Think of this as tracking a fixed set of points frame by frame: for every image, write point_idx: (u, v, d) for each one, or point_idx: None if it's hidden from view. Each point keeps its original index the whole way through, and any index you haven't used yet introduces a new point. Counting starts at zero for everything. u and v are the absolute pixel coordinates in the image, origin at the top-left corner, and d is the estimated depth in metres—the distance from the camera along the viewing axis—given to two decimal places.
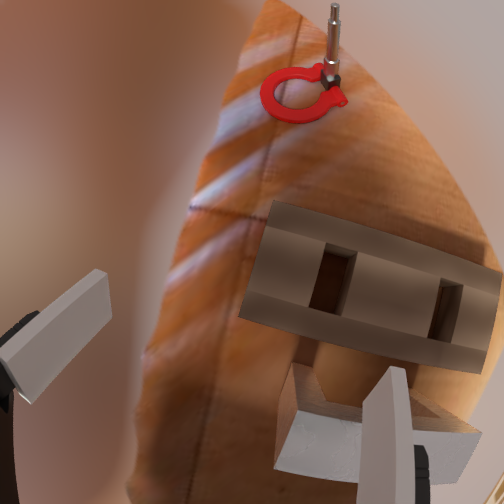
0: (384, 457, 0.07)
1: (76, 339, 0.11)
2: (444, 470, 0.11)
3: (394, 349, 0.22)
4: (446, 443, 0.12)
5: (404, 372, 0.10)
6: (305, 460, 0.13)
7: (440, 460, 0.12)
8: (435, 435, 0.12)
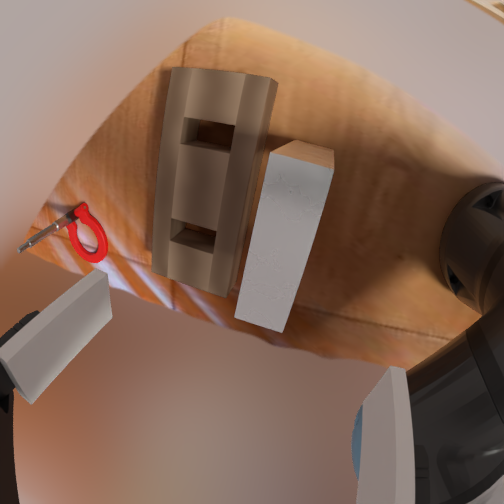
0: (384, 457, 0.07)
1: (76, 339, 0.11)
2: (308, 193, 0.18)
3: (239, 185, 0.28)
4: (271, 200, 0.19)
5: (404, 372, 0.10)
6: (273, 314, 0.22)
7: (291, 202, 0.18)
8: (260, 215, 0.19)
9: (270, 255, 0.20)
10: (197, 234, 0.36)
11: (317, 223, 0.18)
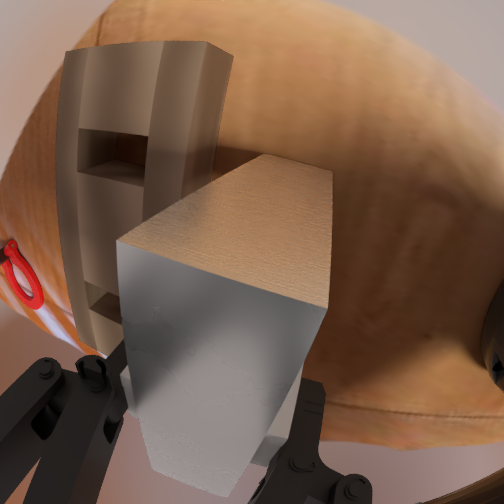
0: None
1: None
2: (241, 362, 0.06)
3: None
4: (151, 359, 0.07)
5: None
6: (208, 484, 0.10)
7: (198, 372, 0.06)
8: (138, 378, 0.07)
9: (179, 436, 0.08)
10: None
11: (271, 417, 0.06)
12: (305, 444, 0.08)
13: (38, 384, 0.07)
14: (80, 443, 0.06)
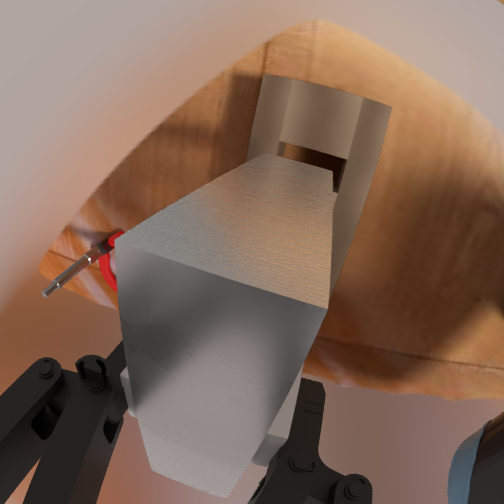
0: None
1: None
2: (240, 362, 0.06)
3: (345, 231, 0.23)
4: (150, 359, 0.06)
5: None
6: (207, 485, 0.10)
7: (197, 372, 0.06)
8: (137, 379, 0.07)
9: (178, 437, 0.08)
10: None
11: (271, 418, 0.06)
12: (305, 444, 0.08)
13: (38, 384, 0.07)
14: (80, 443, 0.06)
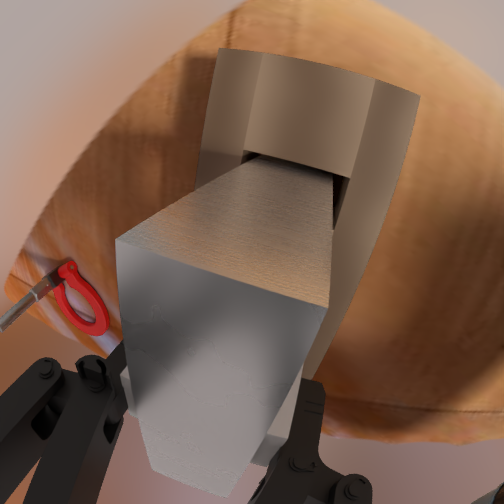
0: None
1: None
2: (241, 361, 0.06)
3: (344, 284, 0.16)
4: (150, 359, 0.06)
5: None
6: (208, 485, 0.10)
7: (198, 372, 0.06)
8: (137, 378, 0.07)
9: (178, 436, 0.08)
10: None
11: (271, 418, 0.06)
12: (305, 444, 0.08)
13: (38, 384, 0.07)
14: (80, 443, 0.06)
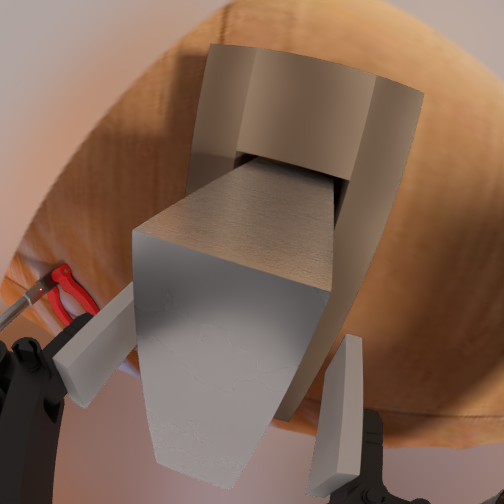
0: (334, 418, 0.09)
1: (129, 339, 0.12)
2: (249, 346, 0.06)
3: (343, 291, 0.15)
4: (162, 346, 0.07)
5: (360, 340, 0.12)
6: (212, 476, 0.11)
7: (207, 357, 0.07)
8: (147, 366, 0.08)
9: (185, 425, 0.09)
10: None
11: (277, 402, 0.07)
12: (370, 476, 0.07)
13: None
14: (24, 420, 0.06)
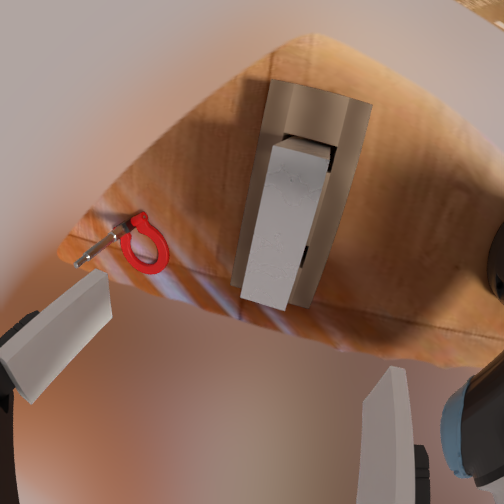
0: (384, 457, 0.07)
1: (76, 339, 0.11)
2: (307, 181, 0.20)
3: (337, 204, 0.29)
4: (274, 187, 0.21)
5: (404, 372, 0.10)
6: (276, 293, 0.25)
7: (292, 189, 0.21)
8: (264, 201, 0.21)
9: (273, 238, 0.23)
10: None
11: (315, 208, 0.21)
12: None
13: None
14: None
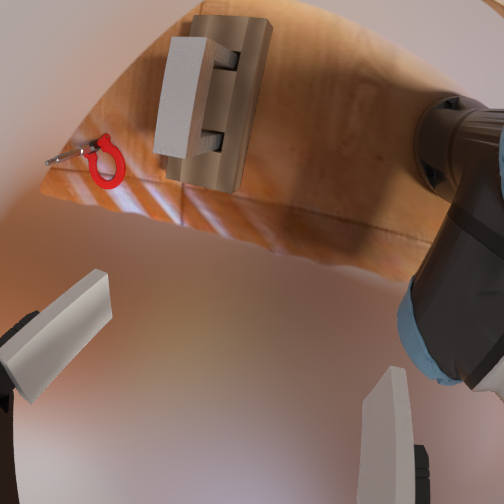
0: (384, 457, 0.07)
1: (76, 339, 0.11)
2: (193, 53, 0.24)
3: (244, 94, 0.33)
4: (172, 62, 0.25)
5: (404, 372, 0.10)
6: (178, 143, 0.28)
7: (183, 60, 0.24)
8: (166, 73, 0.25)
9: (173, 97, 0.26)
10: None
11: (199, 69, 0.25)
12: None
13: None
14: None
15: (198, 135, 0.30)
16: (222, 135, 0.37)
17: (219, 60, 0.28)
